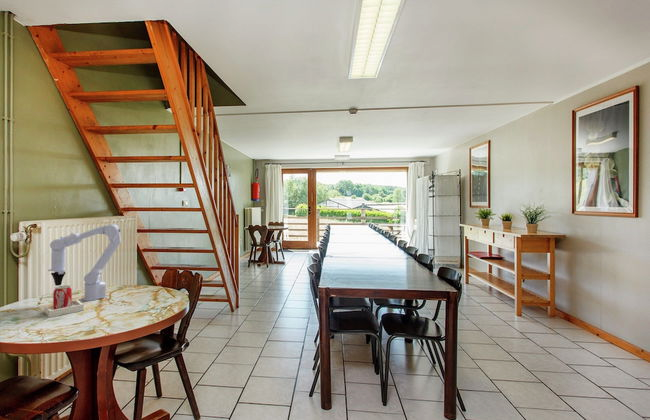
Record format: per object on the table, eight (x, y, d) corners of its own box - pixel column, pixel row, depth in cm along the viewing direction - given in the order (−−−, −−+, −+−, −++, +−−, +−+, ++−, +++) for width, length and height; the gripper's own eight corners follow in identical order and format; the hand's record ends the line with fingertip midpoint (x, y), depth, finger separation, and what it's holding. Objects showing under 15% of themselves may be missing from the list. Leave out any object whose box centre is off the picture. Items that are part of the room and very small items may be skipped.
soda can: (74, 309, 152) (74, 286, 152) (57, 313, 146) (57, 289, 146) (67, 307, 155) (67, 284, 155) (50, 311, 149) (50, 287, 149)
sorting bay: (77, 305, 158) (77, 299, 158) (83, 310, 151) (83, 304, 151) (44, 311, 148) (44, 305, 148) (49, 317, 141) (49, 311, 141)
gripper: (45, 260, 164) (45, 284, 164) (51, 263, 155) (51, 289, 155) (62, 258, 170) (62, 282, 170) (68, 261, 161) (68, 286, 161)
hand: (58, 285), depth 163 cm, fingers closed
